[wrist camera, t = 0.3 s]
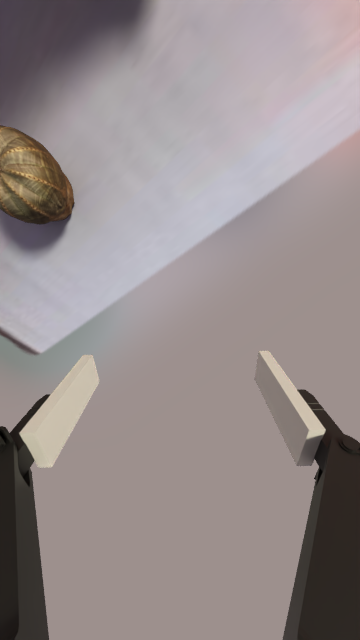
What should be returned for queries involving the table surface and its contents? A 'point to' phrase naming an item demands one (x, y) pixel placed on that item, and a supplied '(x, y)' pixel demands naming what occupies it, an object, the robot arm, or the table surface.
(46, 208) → the shell
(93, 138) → the table surface
